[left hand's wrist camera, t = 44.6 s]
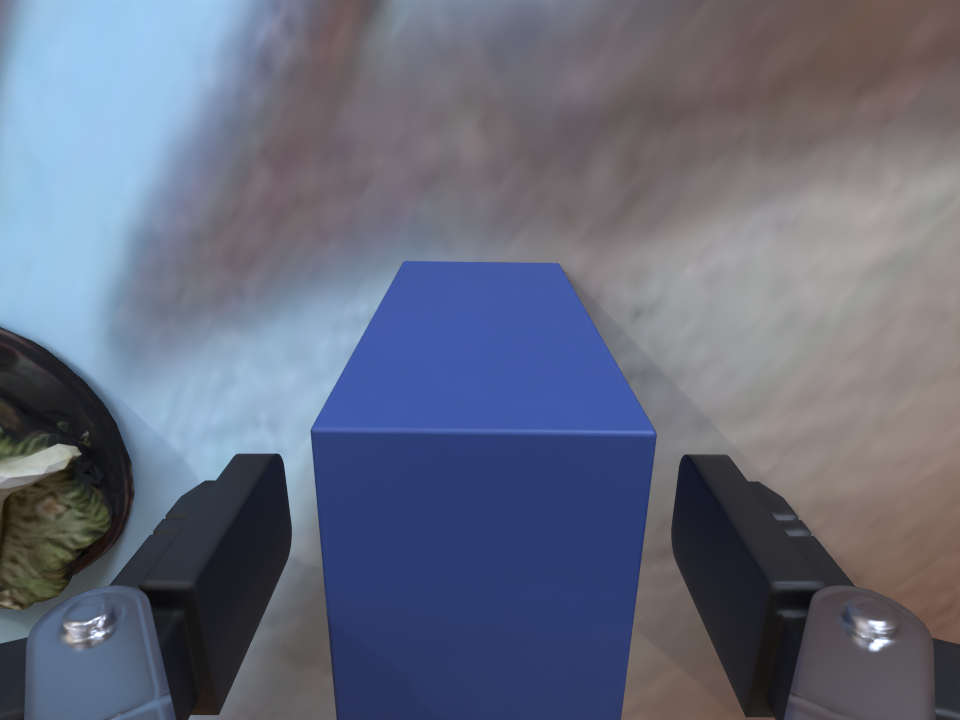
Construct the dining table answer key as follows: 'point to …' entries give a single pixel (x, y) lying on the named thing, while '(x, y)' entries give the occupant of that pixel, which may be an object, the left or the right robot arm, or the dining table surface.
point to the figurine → (54, 474)
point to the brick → (481, 503)
